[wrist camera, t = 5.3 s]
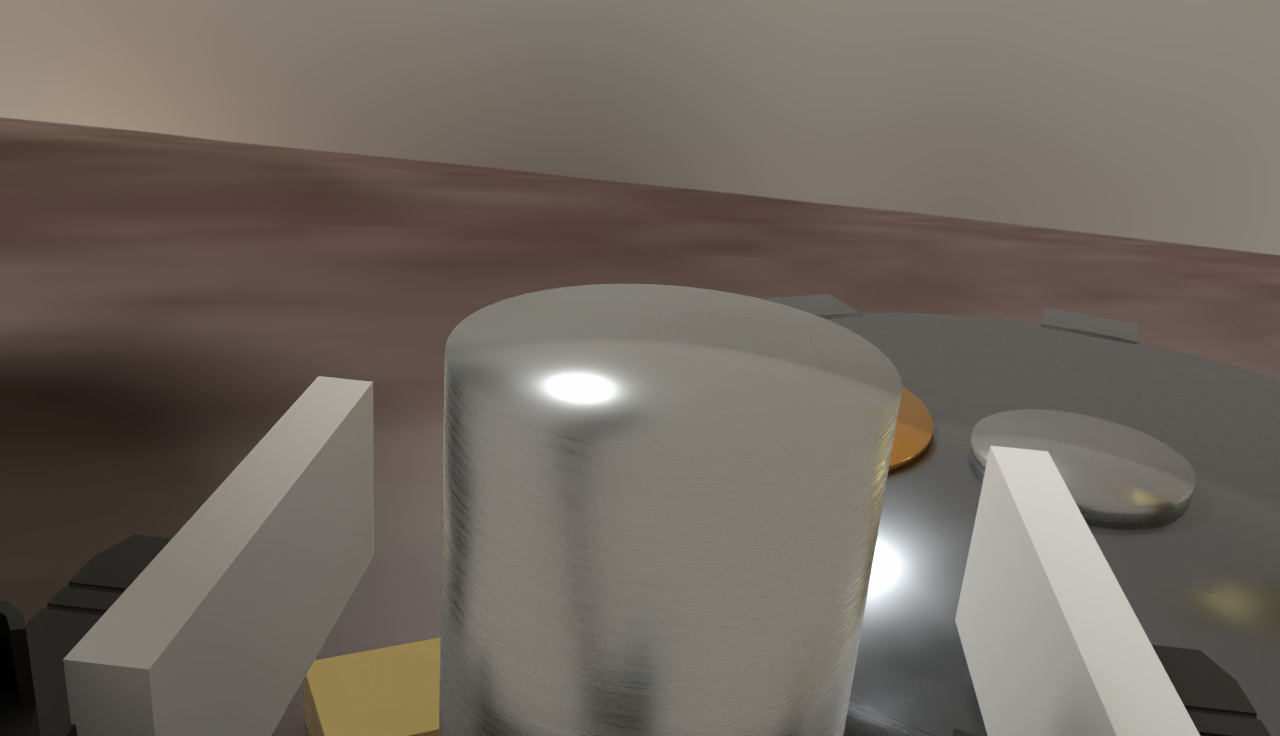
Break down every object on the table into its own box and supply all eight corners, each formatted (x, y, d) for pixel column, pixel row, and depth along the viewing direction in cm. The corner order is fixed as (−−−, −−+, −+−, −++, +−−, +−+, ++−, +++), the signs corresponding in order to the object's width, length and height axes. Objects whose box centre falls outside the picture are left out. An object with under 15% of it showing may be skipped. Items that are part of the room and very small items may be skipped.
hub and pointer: (279, 631, 23) (277, 577, 23) (1058, 497, 31) (1068, 456, 31) (370, 952, 16) (369, 885, 16) (1334, 678, 24) (1351, 628, 24)
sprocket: (389, 393, 31) (386, -205, 25) (1083, 325, 40) (1183, -122, 35) (968, 1354, 11) (1451, -351, 6) (2054, 784, 21) (2604, -74, 15)
